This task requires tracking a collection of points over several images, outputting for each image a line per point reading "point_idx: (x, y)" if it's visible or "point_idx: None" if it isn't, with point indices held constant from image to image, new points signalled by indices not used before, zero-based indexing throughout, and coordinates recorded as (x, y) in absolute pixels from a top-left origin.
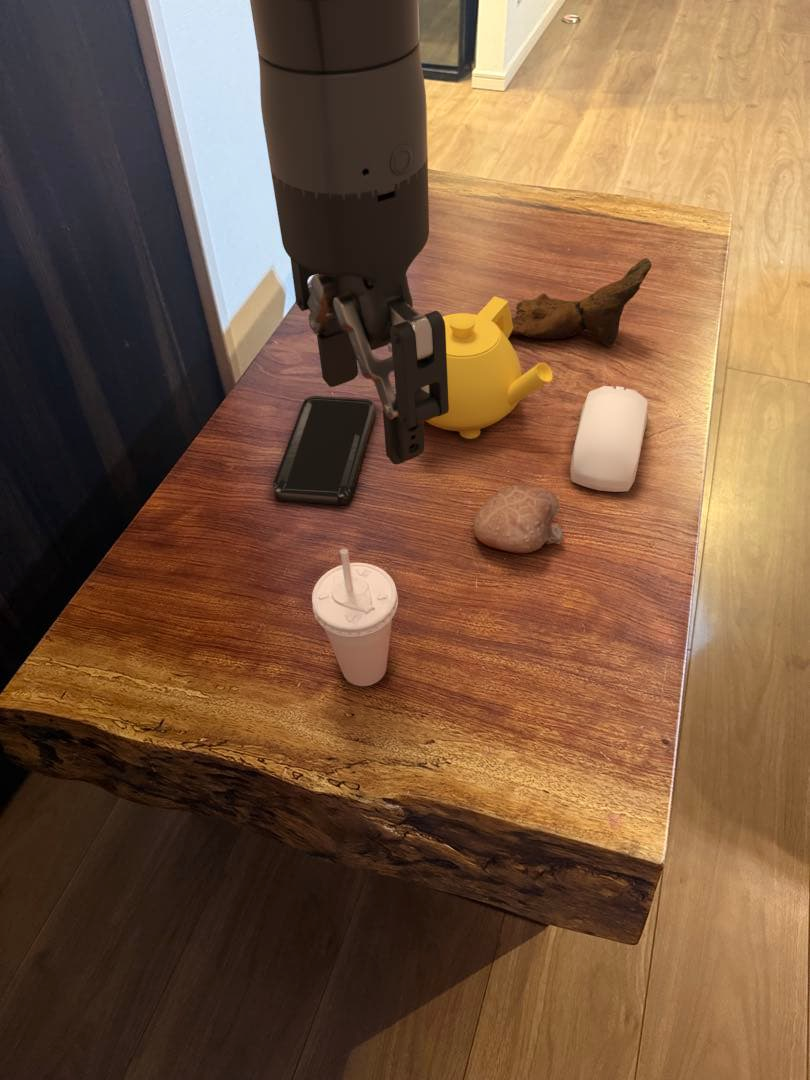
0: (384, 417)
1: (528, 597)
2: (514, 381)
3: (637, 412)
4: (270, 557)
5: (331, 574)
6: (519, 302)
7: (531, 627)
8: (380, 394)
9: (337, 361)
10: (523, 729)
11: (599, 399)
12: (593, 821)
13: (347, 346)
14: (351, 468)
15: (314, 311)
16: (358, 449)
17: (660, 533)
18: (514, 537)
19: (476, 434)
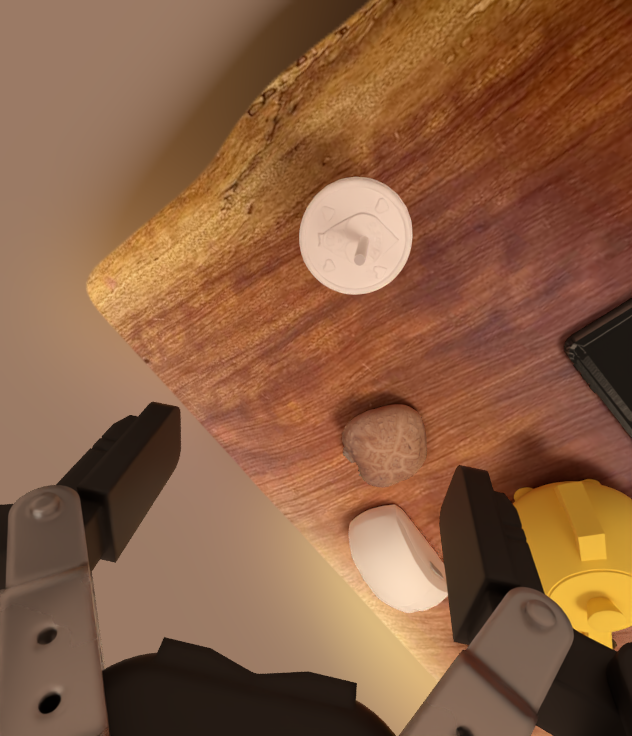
0: (112, 479)
1: (320, 388)
2: None
3: (380, 596)
4: (581, 221)
5: (404, 237)
6: (613, 648)
7: (293, 366)
8: (67, 535)
9: (459, 532)
10: (213, 286)
11: (417, 593)
12: (117, 269)
13: (453, 582)
14: (597, 382)
15: (462, 709)
16: (614, 407)
17: (299, 503)
18: (359, 427)
19: (515, 497)
